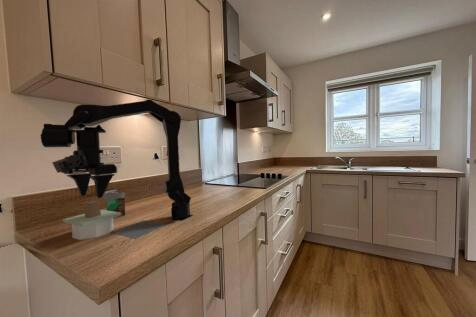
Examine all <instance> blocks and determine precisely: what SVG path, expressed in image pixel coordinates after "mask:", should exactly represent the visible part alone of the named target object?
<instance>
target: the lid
mask: <svg viewBox="0 0 476 317" xmlns="http://www.w3.org/2000/svg"><path fill="white" fill-rule="evenodd" d="M83 205H84V206H83V207H84V208H83V209H84V213H83V214H79V215H75V216H70V217H67V218H63V219H62V222H63V223H66V224H69V225H72V224H73V225H77V226H81V227H84V226H87V225H91V224H94V223H97V222H100V221H104V220H107V219H110V218H113V217H114V218H118V217H117V216H119V217H121V216H120V215H121V213H119V212H113V211H107V209H101V201H99V200H91V201H87V202H84V204H83ZM114 218H113V219H114Z"/></svg>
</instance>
